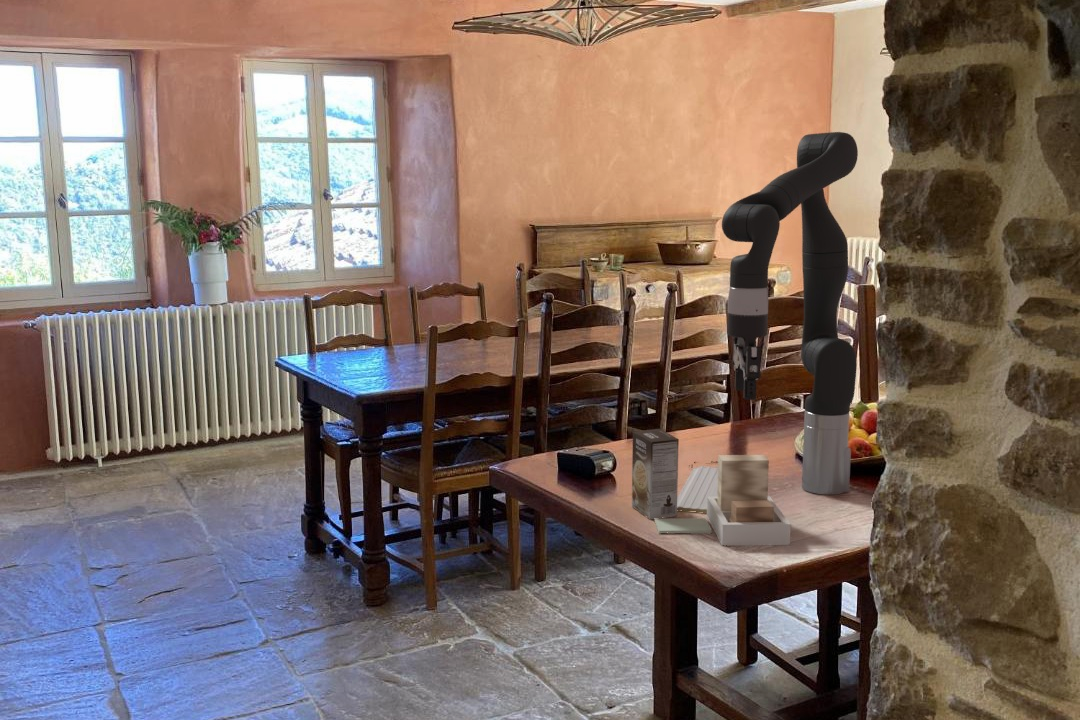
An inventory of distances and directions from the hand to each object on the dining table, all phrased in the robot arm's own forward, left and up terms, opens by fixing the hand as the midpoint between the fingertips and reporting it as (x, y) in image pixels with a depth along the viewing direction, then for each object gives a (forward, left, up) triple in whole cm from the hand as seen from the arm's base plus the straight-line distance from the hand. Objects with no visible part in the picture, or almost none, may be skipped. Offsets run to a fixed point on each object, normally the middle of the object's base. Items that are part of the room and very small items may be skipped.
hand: (745, 394), depth 199 cm
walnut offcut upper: (0, +10, -22) cm, 24 cm away
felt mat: (+12, +3, -25) cm, 28 cm away
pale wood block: (0, 0, -26) cm, 26 cm away
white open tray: (0, +5, -25) cm, 26 cm away
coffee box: (+16, -7, -26) cm, 31 cm away
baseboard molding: (+4, -21, -26) cm, 34 cm away
